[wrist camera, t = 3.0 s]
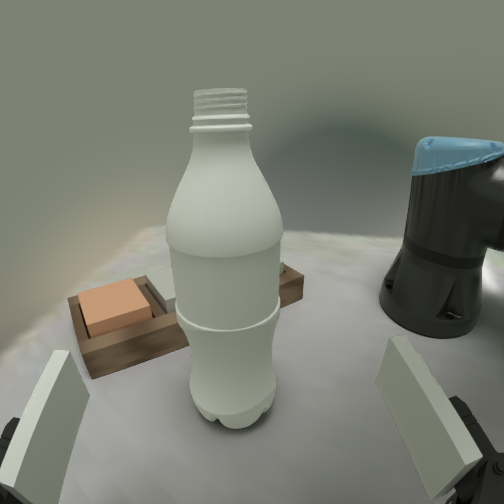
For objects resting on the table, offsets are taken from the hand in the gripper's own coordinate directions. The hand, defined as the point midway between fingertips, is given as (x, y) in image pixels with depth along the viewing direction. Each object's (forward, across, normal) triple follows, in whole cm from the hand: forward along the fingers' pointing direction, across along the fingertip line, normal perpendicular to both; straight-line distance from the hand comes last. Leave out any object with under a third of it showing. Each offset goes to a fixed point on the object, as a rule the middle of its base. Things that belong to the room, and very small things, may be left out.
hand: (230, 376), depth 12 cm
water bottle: (+10, 0, -14) cm, 17 cm away
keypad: (+25, -5, -14) cm, 29 cm away
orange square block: (+21, -13, -12) cm, 27 cm away
